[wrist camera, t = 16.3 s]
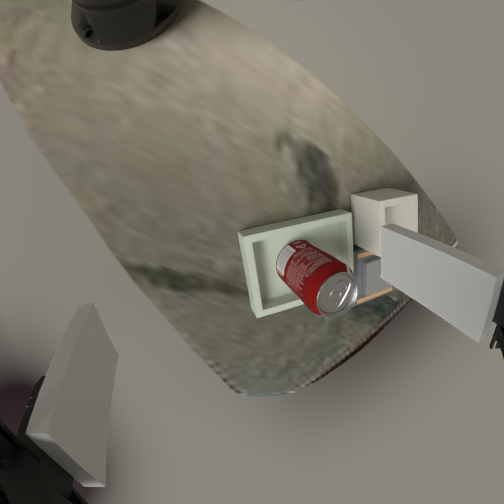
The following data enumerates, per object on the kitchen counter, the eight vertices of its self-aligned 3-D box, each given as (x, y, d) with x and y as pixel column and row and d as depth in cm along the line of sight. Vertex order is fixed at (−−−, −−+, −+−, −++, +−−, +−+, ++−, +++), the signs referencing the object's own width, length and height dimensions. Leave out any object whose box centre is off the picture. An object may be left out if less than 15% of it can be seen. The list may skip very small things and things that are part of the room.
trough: (237, 231, 39) (242, 236, 36) (340, 209, 42) (351, 212, 39) (251, 308, 43) (257, 318, 40) (343, 280, 46) (353, 287, 43)
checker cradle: (348, 250, 45) (352, 253, 43) (393, 237, 47) (398, 239, 45) (348, 303, 48) (352, 307, 47) (391, 287, 50) (395, 290, 49)
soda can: (264, 267, 41) (299, 307, 30) (293, 228, 40) (339, 255, 29) (297, 289, 43) (337, 330, 32) (324, 254, 43) (372, 285, 32)
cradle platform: (362, 261, 44) (366, 263, 43) (389, 253, 46) (393, 254, 45) (362, 293, 46) (365, 296, 46) (388, 283, 48) (391, 286, 47)
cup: (350, 194, 42) (379, 201, 35) (388, 187, 43) (417, 193, 37) (352, 243, 44) (379, 257, 38) (389, 233, 46) (416, 244, 40)
